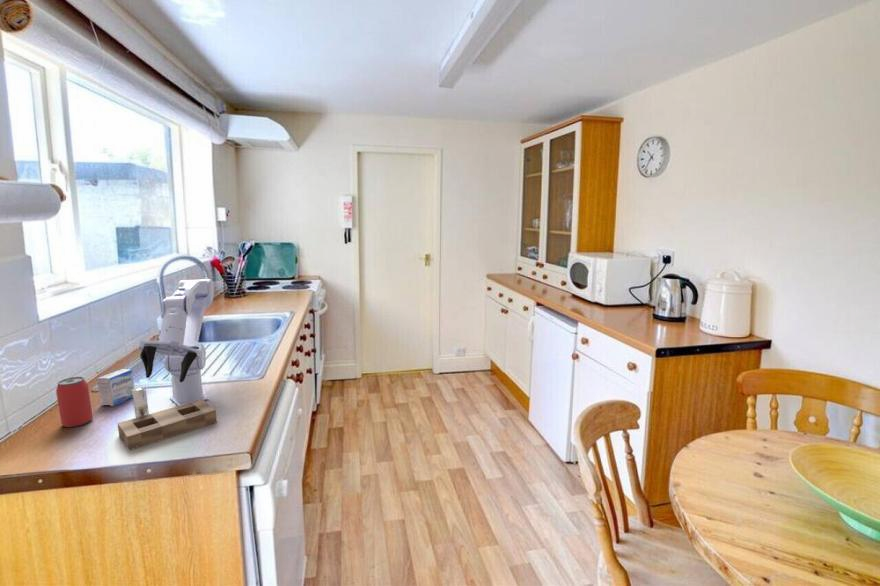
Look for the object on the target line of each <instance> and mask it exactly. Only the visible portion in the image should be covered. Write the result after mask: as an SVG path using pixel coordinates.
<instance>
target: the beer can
mask: <svg viewBox="0 0 880 586" xmlns="http://www.w3.org/2000/svg"><path fill="white" fill-rule="evenodd" d="M56 383H57V387H56V392H55V393H56V398H57V400H56V401H57V405H58V411H59V412H58V413H59V416H60V417H59V418H60V422H61V425H62V426H63V427H64V426H65V428H74V427H73V426H76V427H79V425H80V426H83V425H85V423H86V424H87V422H88V423H89V422H91V421H92V420H93V418H94V417H93V409H92V403H91V402H92V401H91V398H90V396H91V395H90V390H89V385H88V382H87V381H86V379H85V377H84V376H72V377H68V378H63V379H61V380H59V381H58V382H56ZM82 424H83V425H82Z"/></svg>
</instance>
